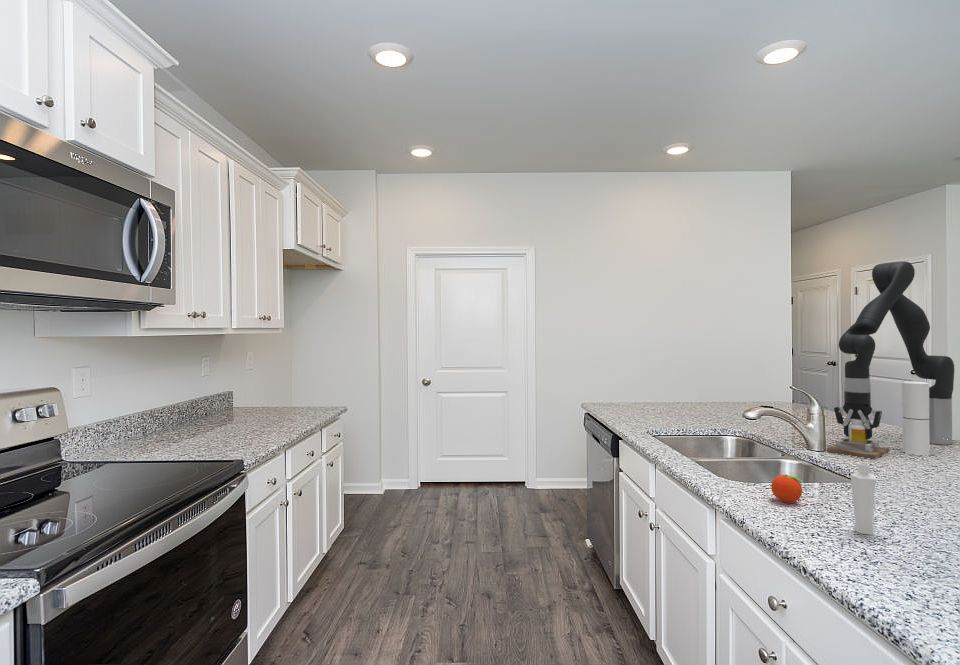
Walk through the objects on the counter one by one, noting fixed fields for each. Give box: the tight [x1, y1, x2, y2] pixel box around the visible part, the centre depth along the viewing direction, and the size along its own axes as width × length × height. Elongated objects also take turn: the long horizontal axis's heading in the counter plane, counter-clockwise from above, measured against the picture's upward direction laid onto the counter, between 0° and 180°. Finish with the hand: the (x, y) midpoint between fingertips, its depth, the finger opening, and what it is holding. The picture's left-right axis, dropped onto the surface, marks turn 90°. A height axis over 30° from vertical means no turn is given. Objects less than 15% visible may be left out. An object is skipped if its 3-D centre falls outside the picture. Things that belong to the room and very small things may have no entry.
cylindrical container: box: [901, 381, 931, 456], centre depth 176 cm, size 7×7×25 cm
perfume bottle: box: [850, 462, 876, 536], centre depth 111 cm, size 5×4×15 cm
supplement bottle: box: [848, 418, 868, 444], centre depth 179 cm, size 5×5×10 cm
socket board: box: [826, 436, 890, 460], centre depth 179 cm, size 15×14×4 cm
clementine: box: [770, 474, 808, 504], centre depth 130 cm, size 8×7×7 cm
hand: (857, 437), depth 179 cm, fingers closed on supplement bottle, 5 cm apart
